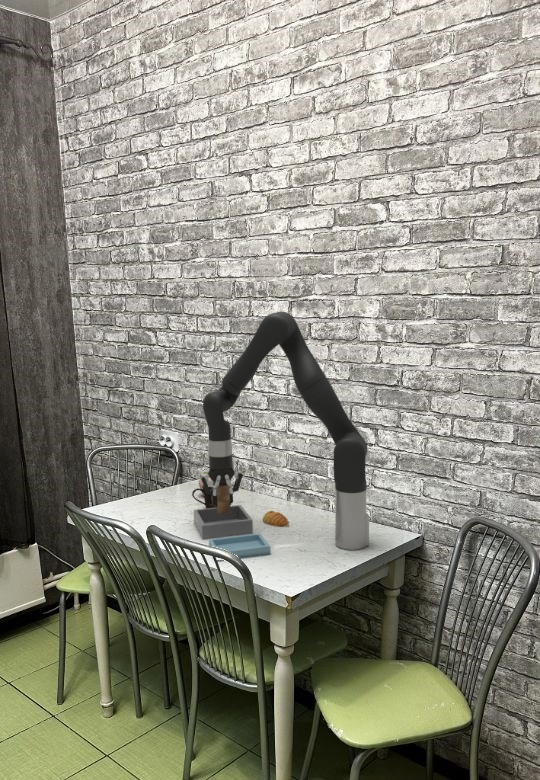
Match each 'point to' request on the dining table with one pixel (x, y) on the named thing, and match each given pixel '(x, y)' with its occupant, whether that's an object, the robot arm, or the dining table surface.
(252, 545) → the shallow blue tray
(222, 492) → the walnut block
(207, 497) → the coffee mug
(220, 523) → the low gray crate
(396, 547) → the dining table surface
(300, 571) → the dining table surface
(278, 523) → the pastry
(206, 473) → the decorative fruit
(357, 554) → the dining table surface
